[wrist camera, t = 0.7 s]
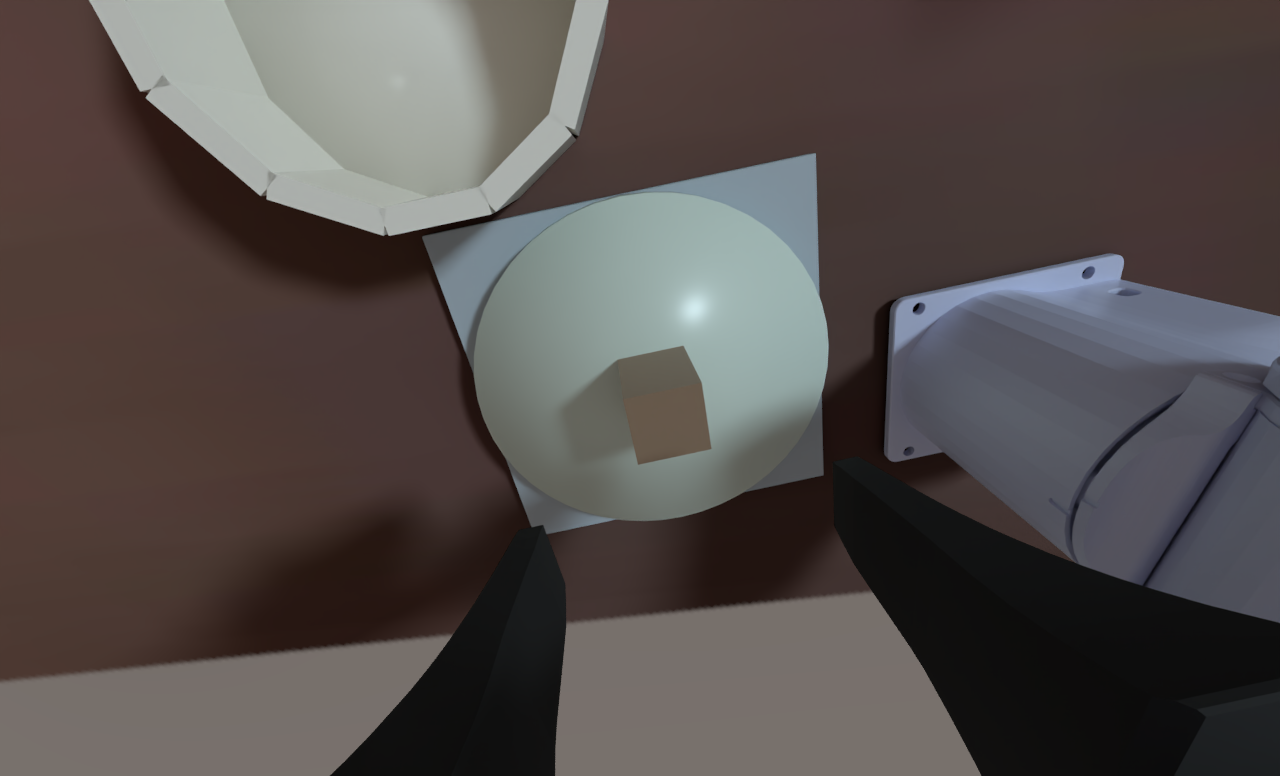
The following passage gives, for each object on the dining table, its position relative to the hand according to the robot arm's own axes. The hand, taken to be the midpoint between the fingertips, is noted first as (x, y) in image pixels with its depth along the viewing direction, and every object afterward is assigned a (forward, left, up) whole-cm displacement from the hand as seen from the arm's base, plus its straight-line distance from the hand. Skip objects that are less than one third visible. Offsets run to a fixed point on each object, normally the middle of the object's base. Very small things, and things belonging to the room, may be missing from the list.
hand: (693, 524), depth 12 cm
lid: (0, 0, -9) cm, 9 cm away
